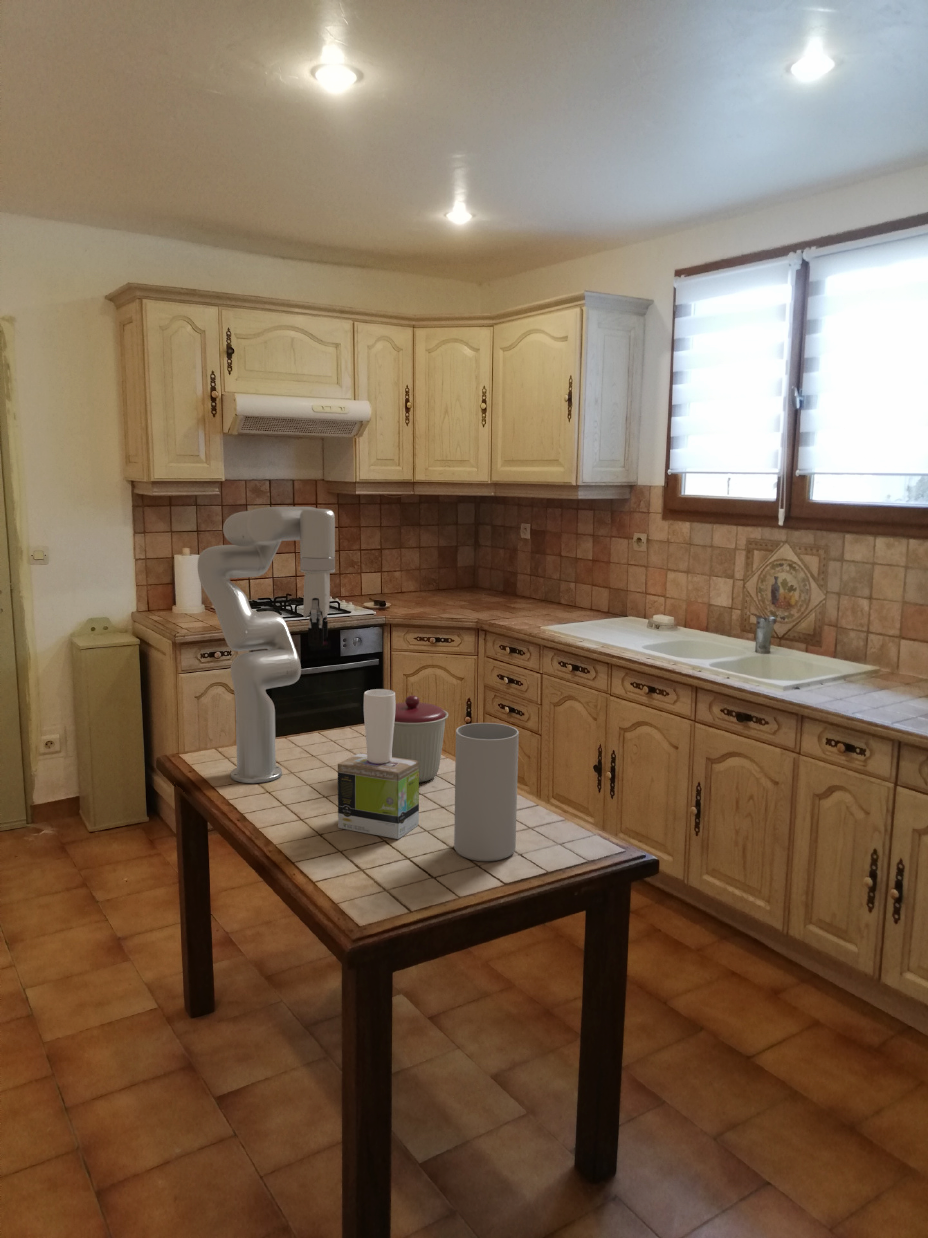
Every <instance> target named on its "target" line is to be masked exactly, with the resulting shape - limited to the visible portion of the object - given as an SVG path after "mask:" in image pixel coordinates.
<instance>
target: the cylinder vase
mask: <svg viewBox="0 0 928 1238" xmlns="http://www.w3.org/2000/svg"><path fill="white" fill-rule="evenodd" d="M519 734H520V731H519V730H518V729H517V728H516V727H513V726H512V725H511V726H510V725H507V724H502V723H496V722H495V723H494V722H476V723H475V722H474V723H468V724H464V725H461V726H459V727H457V728H456V729H455V768H454V769H455V770H454V771H455V774H454V830H453V831H454V832H453V833H454V834H453V835H454V837H453V847H454V851H455V852H456V853H457V854H458V855H459V856H462V857H463V858H465V859H468V860H472V861H478V862H496V861H501V860H504V859H507V858H508V857H511V856H512V855H513V854H514V853H515V851H516V844H517V843H516V842H517V809H518V807H517V805H518V803H517V802H518V775H519V774H518V769H519V768H518V767H519V737H520V736H519Z"/></svg>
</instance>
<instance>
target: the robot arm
mask: <svg viewBox="0 0 928 1238" xmlns="http://www.w3.org/2000/svg"><path fill="white" fill-rule="evenodd" d="M335 517H336V516H335V513H334V512H333V510H332V509H329V508H317V507H313V506H269V507H261V508H254V509H251V510H245V511H240V512H235V513H232V514H231V515H229V517H227V518H226V520H225V522H224V523H223V528H222V533H223V534H224V538H225V539H226V540H227V541H228V542H229V543H230V544H221V545H220V544H219V545H216V546H210V547H207V548H205V549H204V550H203V551H202V550H201V552H200V554H199V556H198V558H197V574H198V579H199V582H200V585H201V588H202V589H203V590H204V593H205V594H206V596H207V597H208V599H209V600H210V602H211V604H212V606H213V608H214V610H215V613H216V617H217V620H218V622H219V626H220V628H221V631H222V634H223V638H224V640H225V642H226V644H227V646H228V648H230V649H231V650H233V651H234V652H244V653H242V654H240V655H238V656H236V657H235V658H234V659H233V660H232V662H231V665H230V677H231V682H232V686H233V687H232V688H233V692H234V702H235V703H234V704H235V732H236V733H235V734H236V735H235V736H236V737H235V739H236V767H235V768H233V769H232V770H231V771H230V778H231V779H232V780H233V781H235V782H239V783H243V784H244V783H245V784H261V783H268V782H272V781H276V780H277V779H279V778H280V777H281V776H282V775H283V769H282V767H280V766H279V765H277V763H276V762H277V761H276V760H277V759H276V756H277V755H276V752H277V751H276V709H275V704H274V702H273V700H272V698H270V696H269V695H268V694H267V691H266V690H269V689H274V688H278V687H285V686H290V685H293V684H295V683H296V682H298V681H299V680H300V677H301V674H302V667H301V666H302V665H301V659H300V657H299V654H298V651H297V649H296V646H295V643H294V640H293V638H292V635H291V632H290V629H289V627H288V624H287V622H286V620H285V618H283V616H282V615H281V614H279V613H278V612H275V611H270V610H266V611H255V610H253V609H252V607H251V605H250V602H249V599H248V597H247V595H246V593H244V591H243V590H242V589H241V588H240V587H239V586H238V585H237V584H236V583H234V582H232V581H231V579H241V578H243V579H245V578H256V577H260V576H263V575H264V574H265V573H267V572H268V570H269V568H270V566H271V565H272V562H273V560H274V557H275V555H276V554H277V552H278V550H279V547H280V545H281V543H282V541H284V542H285V541H289V542H290V541H299V547H300V548H299V549H300V550H299V551H300V552H299V553H300V556H299V557H300V558H299V560H300V568H299V569H300V570H299V571H300V572H301V573H303V574H304V578H303V579H304V580H303V608H302V609H303V612H302V613H303V616H302V617H304V618H305V619H307V618H309V619H308V627H307V629H308V630H307V633H308V635H307V637H308V638H307V640H308V644H307V645H308V646H309V647H323V646H324V639H328V636H329V630H328V629H329V624H328V623H329V622H328V621H329V620H328V614H329V612H330V598H331V595H330V594H331V593H330V592H331V590H330V589H331V581H330V579H331V578H330V577H331V575H330V574H332V573H336V545H335V544H336V540H335V539H336V537H335V536H336V534H335V533H336V518H335ZM266 649H267V650H266ZM257 650H258V651H257Z"/></svg>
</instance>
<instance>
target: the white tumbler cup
mask: <svg viewBox="0 0 928 1238" xmlns="http://www.w3.org/2000/svg"><path fill="white" fill-rule="evenodd" d="M396 702H397V701H396V692H395V691H394V690H392V689H386V688H376V689H375V688H374V689H370V690H369V689H368V690H366V691H364V693H363V718H364V719H363V720H364V730H365V733H364V734H365V743H366V744H365V745H366V753H367V760H368V761H369V762H371V763H375V764H383V763H388V762H390V761H391V759H392V744H393V733H394V722H395V710H396Z"/></svg>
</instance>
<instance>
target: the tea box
mask: <svg viewBox="0 0 928 1238" xmlns="http://www.w3.org/2000/svg"><path fill="white" fill-rule="evenodd" d="M419 783H420V782H419V761H416V760H409V759H402V758H395V757H392V759H391V761H390V762H388V763H383V764H375V763H371V762H369V761H368V760H367V752H359V753H357V754H355V755H353V756H351V757H348V758H347V759H344V760H342V761H341V762H338V763H337V820H338V821H337V822H338V823H337V825H338V829H343V830H347V831H354V832H359V833H364V834H369V835H374V836H378V837H385V838H390V839H395V840H399V839H401V838H402V837H404V836H406V835H407V834H408V833H410V832H411V831H412V830H414V829H415V828H416V827H417V826H418V825H419V819H420V784H419Z"/></svg>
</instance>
